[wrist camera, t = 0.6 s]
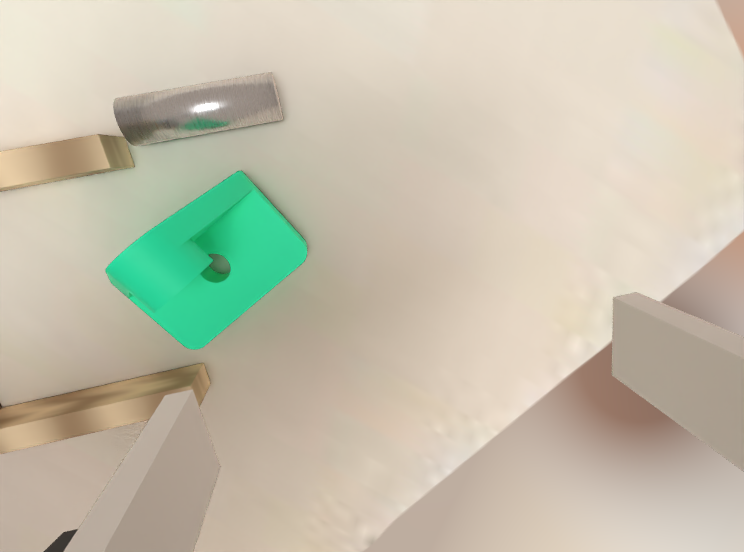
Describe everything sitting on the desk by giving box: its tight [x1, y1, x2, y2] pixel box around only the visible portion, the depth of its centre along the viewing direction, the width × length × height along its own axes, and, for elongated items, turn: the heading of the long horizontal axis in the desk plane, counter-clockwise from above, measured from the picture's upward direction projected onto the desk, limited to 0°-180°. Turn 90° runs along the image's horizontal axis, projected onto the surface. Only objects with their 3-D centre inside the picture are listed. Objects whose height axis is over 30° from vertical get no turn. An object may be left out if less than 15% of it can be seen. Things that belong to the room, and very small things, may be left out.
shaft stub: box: [113, 72, 283, 146], centre depth 26 cm, size 10×3×3 cm, turn 100°
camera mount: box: [105, 171, 307, 350], centre depth 26 cm, size 12×8×10 cm, turn 129°
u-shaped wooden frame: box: [0, 134, 211, 454], centre depth 27 cm, size 18×20×5 cm
